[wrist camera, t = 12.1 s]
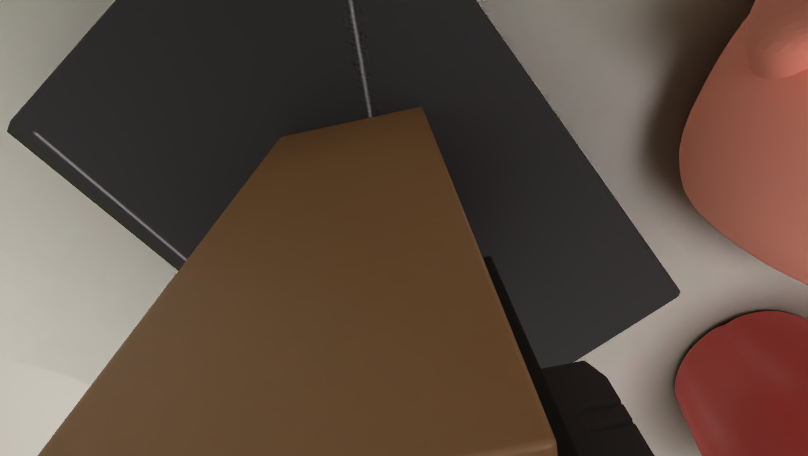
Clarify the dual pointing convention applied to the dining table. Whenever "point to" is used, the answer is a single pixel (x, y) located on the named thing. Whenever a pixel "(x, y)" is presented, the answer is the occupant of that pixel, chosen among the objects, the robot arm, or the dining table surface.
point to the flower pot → (748, 387)
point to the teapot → (755, 138)
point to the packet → (324, 321)
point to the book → (336, 104)
